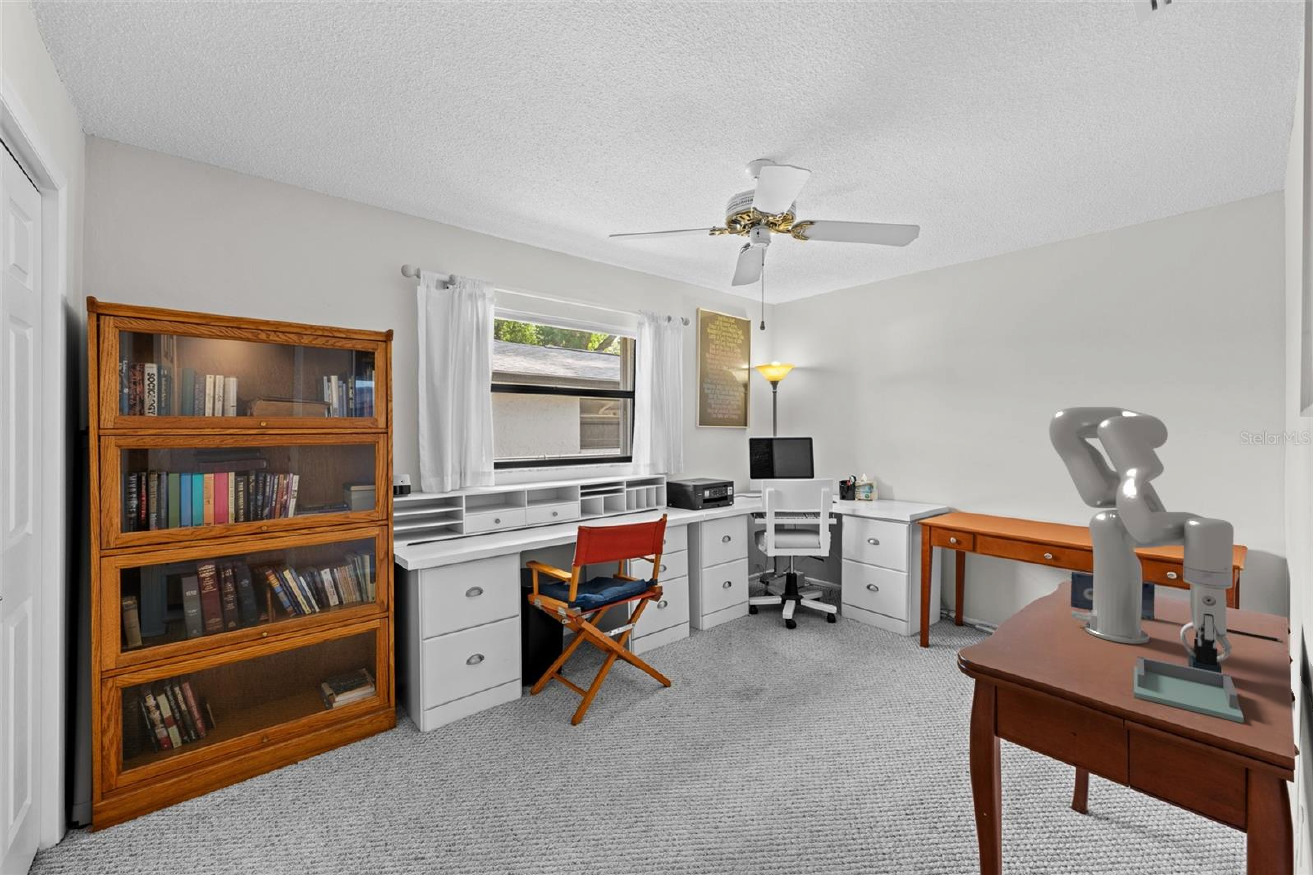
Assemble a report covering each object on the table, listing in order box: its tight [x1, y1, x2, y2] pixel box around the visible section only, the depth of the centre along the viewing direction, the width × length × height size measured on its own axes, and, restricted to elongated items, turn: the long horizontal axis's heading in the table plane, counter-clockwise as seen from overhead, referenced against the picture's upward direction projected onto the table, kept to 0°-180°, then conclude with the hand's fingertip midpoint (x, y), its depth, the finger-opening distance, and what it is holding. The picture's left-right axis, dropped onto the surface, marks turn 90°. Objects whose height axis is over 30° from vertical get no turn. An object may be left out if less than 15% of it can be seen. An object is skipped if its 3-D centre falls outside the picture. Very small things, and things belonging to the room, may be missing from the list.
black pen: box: [1226, 628, 1284, 644], centre depth 142 cm, size 12×1×1 cm, turn 42°
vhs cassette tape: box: [1070, 570, 1156, 621], centre depth 159 cm, size 18×3×10 cm, turn 49°
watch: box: [1179, 621, 1234, 673], centre depth 121 cm, size 6×8×11 cm
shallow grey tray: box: [1133, 656, 1245, 724], centre depth 112 cm, size 15×15×4 cm
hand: (1205, 661), depth 121 cm, fingers closed on watch, 3 cm apart
